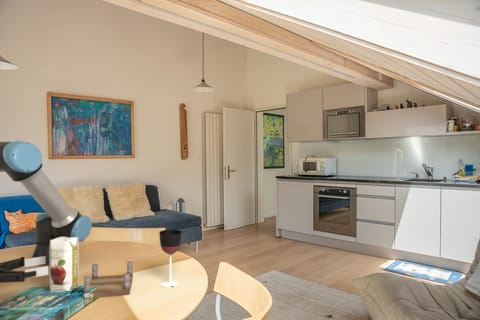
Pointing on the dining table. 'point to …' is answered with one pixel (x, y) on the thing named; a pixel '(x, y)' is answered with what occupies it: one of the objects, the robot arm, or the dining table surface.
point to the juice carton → (63, 263)
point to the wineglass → (170, 249)
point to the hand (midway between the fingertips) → (46, 264)
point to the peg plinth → (109, 283)
